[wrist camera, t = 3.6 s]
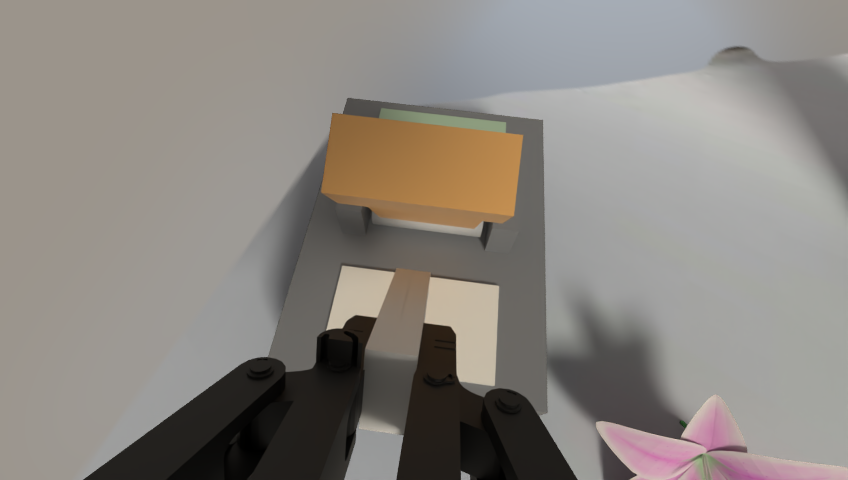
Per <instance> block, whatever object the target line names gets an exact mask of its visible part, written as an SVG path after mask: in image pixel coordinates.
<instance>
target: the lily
mask: <svg viewBox="0 0 848 480" xmlns="http://www.w3.org/2000/svg"><path fill="white" fill-rule="evenodd" d="M680 424H681V425H682V426H683V427H684V428H685V430H684V432H683V434H682V436H681V438H680V440H678V439H673V438H668V437H664V436H659V435H655V434H650V433H647V432H643V431H640V430H636V429H633V428H629V427H625V426H622V425H618V424H614V423H610V422H605V421H599V422H596V428H597V430H598V432H599V433H600V435H601V437H602V438H603V439H604V441H605V442H606V443H607V445H608V446H609V447H610V449H611V450H612V451H613V452H614V453H615V454H616V456H617V457H618V458H619V459H620V460H621V461H622V462H623V463H624V464H625V465H626V466H627V467H628V468H629V469H630V470H631V471H632V472H634V473H635V474H637V476H635V477H633V478H632V479H630V480H848V468H847V467H841V466H833V465H825V464H816V463H808V462H799V461H791V460H784V459H778V458H772V457H767V456H761V455H755V454H750V453H747V447H746V444H745V441H744V439H743V436H742V434H741V432H740V429H739V427H738V425H737V423H736V421H735V419H734V417H733V416H732V414H731V412H730V410H729V408H728V407H727V405H726V404H725V402H724V401H723V399H722V398H720V397H719V396H718V395H714V396H711V397H710V398H709V399H708V400H707V401H706V402H705V403H704V404H703V405H702V407H701V408H700V409H699V410H698V412H697V413H696V414H695V416H694V417H693V418H692V420H691V421H690V423H689V424H688V425H687V424H686V423H685V422H684V421H680Z"/></svg>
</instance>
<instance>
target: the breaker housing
mask: <svg viewBox="0 0 848 480" xmlns="http://www.w3.org/2000/svg"><path fill="white" fill-rule="evenodd" d="M343 114H346V115H354V116H363V117H372V118H380V119H389V120H398V121H406V122H415V123H424V124H432V125H441V126H450V127H458V128H467V129H476V130H484V131H493V132H502V133H510V134H519V135H523V141H522V150H521V159H520V167H519V176H518V185H517V193H516V202H515V211H514V216H513V217H512V218H510V219H509V220H507V221H505V222H504V223H494V222H485V221H484V222H483V228H482V233H481V236H480V237H473V236H465V235H457V234H449V233H441V232H433V231H425V230H417V229H409V228H401V227H393V226H385V225H377V224H373V223H372V210H371V209H369V208H368V207H364V206H356V205H348V204H340V203H337V202H335V201H334V200H332V199H330V198H329V197H327V196H326V195H324V194H323V193H321V189H322V183H321V186H320V189H319V193H318V196H317V199H316V202H315V206H314V209H313V212H312V215H311V219H310V222H309V225H308V228H307V232H306V235H305V238H304V241H303V245H302V248H301V251H300V254H299V258H298V261H297V264H296V267H295V271H294V274H293V277H292V280H291V284H290V287H289V290H288V293H287V297H286V300H285V303H284V306H283V310H282V313H281V316H280V319H279V323H278V326H277V329H276V332H275V336H274V339H273V342H272V345H271V349H270V352H269V355H268V357H269V358H276V359H278V360H280V361H282V362H283V363H284V365H285V366H286V372H292V371H303V370H308V369H312V368H313V366H314V365H315V363H316V348H317V336H318V335H319V334H321V333H322V332H324V331H327V330H330V329H336V328H343V326H344V325H345V323H346V321H347V320H348V319H350V318H352V317H353V316H355V315H360V316H368V317H375V318H377V317H378V314H379V312H380V309H381V307H382V304H383V302H384V299H385V297H386V294H387V291H388V289H389V286H390V284H391V281H392V279H393V276H394V273H395V271H396V268H400V269H408V270H416V271H424V272H431V275H430V283H429V291H428V299H427V308H426V316H425V323H428V324H436V325H443V326H450V327H451V328H452V329H453V331H454V332H455V333H456V368H457V376H458V379H459V383H460V384H461V385H462V386H463V387H464V388H466V389H467V390H469V391H470V392H472V393H475V394H477V395H480V396H482V397H485V395H486V393H487V392H489V391H490V390H492V389H497V388H503V389H510V390H513V391H516V392H518V393H520V394H521V395H523V396H525V397H526V398H527V399H528V400H529V402H530V403H531V404H532V406H533V407H534V409H535V411H536V412H537V414H538V415H539V416H540V415H542V414H545V413H547V350H546V285H545V221H544V156H543V120H537V119H528V118H519V117H510V116H502V115H493V114H484V113H475V112H466V111H458V110H449V109H440V108H431V107H423V106H414V105H405V104H396V103H388V102H379V101H370V100H361V99H352V98H348V99H347V102H346V105H345V108H344V111H343ZM322 182H323V180H322Z"/></svg>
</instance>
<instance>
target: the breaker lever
mask: <svg viewBox="0 0 848 480" xmlns="http://www.w3.org/2000/svg"><path fill="white" fill-rule="evenodd" d="M522 141H523V135H519V134H510V133H502V132H493V131H484V130H476V129H467V128H458V127H450V126H441V125H432V124H424V123H415V122H406V121H398V120H389V119H380V118H372V117H363V116H354V115H346V114H337V113H332V120H331V127H330V134H329V141H328V148H327V155H326V161H325V168H324V175H323V182H322V189H321V193H323V194H324V195H326V196H327V197H329V198H330V199H332V200H334V201H335V202H337V203H340V204H348V205H356V206H364V207H368V208H369V209H371V210H372V223H373V224H377V225H385V226H393V227H401V228H409V229H417V230H425V231H433V232H441V233H449V234H457V235H465V236H473V237H480V236H481V233H482V228H483V222H484V221H485V222H494V223H504V222H505V221H507V220H509V219H510V218H512V217H513V216H514V211H515V202H516V193H517V185H518V176H519V167H520V159H521V150H522Z"/></svg>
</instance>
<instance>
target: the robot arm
mask: <svg viewBox="0 0 848 480" xmlns="http://www.w3.org/2000/svg"><path fill="white" fill-rule="evenodd" d="M430 275H431V272H424V271H416V270H408V269H400V268H396V271H395V273H394V276H393V279H392V281H391V284H390V286H389V289H388V291H387V294H386V297H385V299H384V302H383V304H382V307H381V309H380V312H379V314H378V317H377V318H375V317H368V316H360V315H355V316H353V317H352V318H350V319H348V320H347V321H346V323H345V325H344V326H343V328H336V329H330V330H327V331H324V332H322V333H321V334H319V335H318V336H317V348H316V363H315V365H314V366H313V368H312V369H308V370H303V371H292V372H286V366H285V365H284V363H283V362H282V361H280V360H278V359H276V358H269V357H260V358H255V359H251V360H248V361H246V362H244V363H242V364H241V365H239V366H238V367H237V368H235V369H234V370H232V371H231V372H230V373H228V374H227V375H226V376H224V377H223V378H222V379H220V380H219V381H217V382H216V383H215V384H213V385H212V386H211V387H209V388H208V389H206V390H205V391H204V392H202V393H201V394H200V395H198V396H197V397H196V398H194V399H193V400H191V401H190V402H189V403H187V404H186V405H185V406H183V407H182V408H181V409H179V410H178V411H176V412H175V413H174V414H172V415H171V416H170V417H168V418H167V419H165V420H164V421H163V422H161V423H160V424H159V425H157V426H156V427H155V428H153V429H152V430H150V431H149V432H148V433H146V434H145V435H144V436H142V437H141V438H140V439H138V440H137V441H135V442H134V443H133V444H131V445H130V446H129V447H127V448H126V449H124V450H123V451H122V452H120V453H119V454H118V455H116V456H115V457H114V458H112V459H111V460H109V461H108V462H107V463H105V464H104V465H103V466H101V467H100V468H99V469H97V470H96V471H94V472H93V473H92V474H90V475H89V476H88V477H86V478H85V479H83V480H344V478H345V475H346V471H347V468H348V465H349V461H350V458H351V455H352V452H353V448H354V445H355V440H356V428H357V424H358V421H359V418H360V421H359V429H364V430H371V431H378V432H385V433H392V434H399V435H404V437H403V443H402V449H401V455H400V461H399V467H398V473H397V479H396V480H461V471H463V472H465V473H468V474H470V480H577V478H576V476H575V475H574V473H573V471H572V470H571V468H570V466H569V465H568V463H567V462H566V460H565V458H564V457H563V455H562V453H561V452H560V450H559V448H558V447H557V445H556V443H555V442H554V440H553V438H552V437H551V435H550V434H549V432H548V430H547V429H546V427H545V425H544V424H543V422H542V420H541V419H540V417H539V415H538V414H537V412H536V411H535V409H534V407H533V406H532V404H531V403H530V402H529V400H528V399H527V398H526V397H525V396H523V395H521V394H520V393H518V392H516V391H513V390H510V389H503V388H497V389H492V390H490V391H489V392H487V393H486V395H485V397H482V396H480V395H477V394H475V393H472V392H470V391H469V390H467V389H466V388H464V387H463V386H462V385H461V384H460V383H459V379H458V376H457V368H456V333H455V332H454V331H453V329H452V328H451V327H450V326H443V325H436V324H428V323H425V316H426V308H427V299H428V291H429V283H430Z"/></svg>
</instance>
